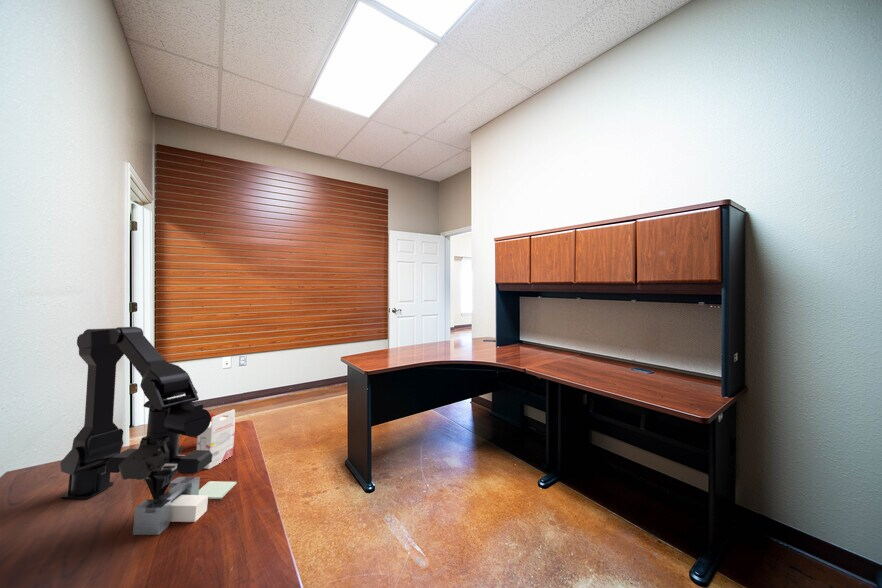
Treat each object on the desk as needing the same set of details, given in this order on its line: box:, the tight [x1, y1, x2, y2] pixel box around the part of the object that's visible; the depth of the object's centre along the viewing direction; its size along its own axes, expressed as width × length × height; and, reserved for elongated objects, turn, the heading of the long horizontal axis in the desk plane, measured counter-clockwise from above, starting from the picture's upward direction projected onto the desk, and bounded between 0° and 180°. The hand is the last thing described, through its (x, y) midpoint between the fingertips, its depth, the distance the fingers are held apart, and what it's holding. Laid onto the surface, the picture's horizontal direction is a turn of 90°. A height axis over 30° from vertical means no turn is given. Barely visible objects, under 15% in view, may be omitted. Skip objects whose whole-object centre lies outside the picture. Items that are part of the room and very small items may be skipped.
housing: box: [132, 476, 201, 536], centre depth 72 cm, size 5×12×5 cm, turn 4°
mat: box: [198, 480, 238, 500], centre depth 82 cm, size 7×7×1 cm
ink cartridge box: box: [196, 409, 236, 470], centre depth 97 cm, size 9×5×15 cm, turn 168°
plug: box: [169, 495, 209, 523], centre depth 73 cm, size 9×4×3 cm, turn 94°
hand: (157, 499), depth 72 cm, fingers closed
